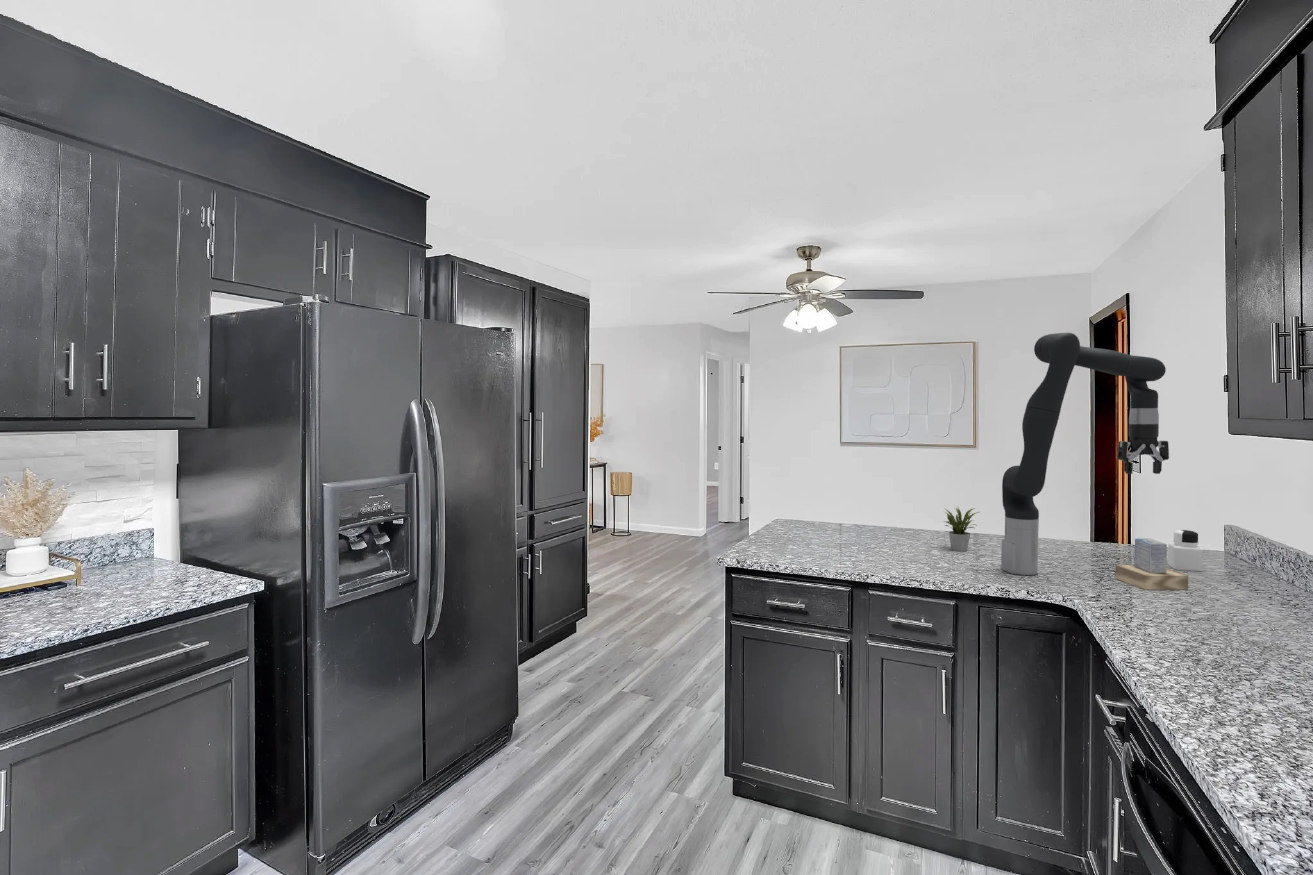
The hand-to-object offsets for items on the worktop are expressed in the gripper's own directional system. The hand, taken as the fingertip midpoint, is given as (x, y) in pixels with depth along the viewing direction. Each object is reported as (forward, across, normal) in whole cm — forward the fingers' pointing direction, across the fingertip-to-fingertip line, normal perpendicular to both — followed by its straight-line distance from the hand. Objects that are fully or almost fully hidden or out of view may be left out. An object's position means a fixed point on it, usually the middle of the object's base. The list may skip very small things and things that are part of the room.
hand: (1142, 473), depth 204 cm
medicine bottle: (+31, +14, 0) cm, 34 cm away
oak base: (+30, -10, -18) cm, 37 cm away
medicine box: (+26, -10, -18) cm, 34 cm away
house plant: (+30, -45, +26) cm, 60 cm away
